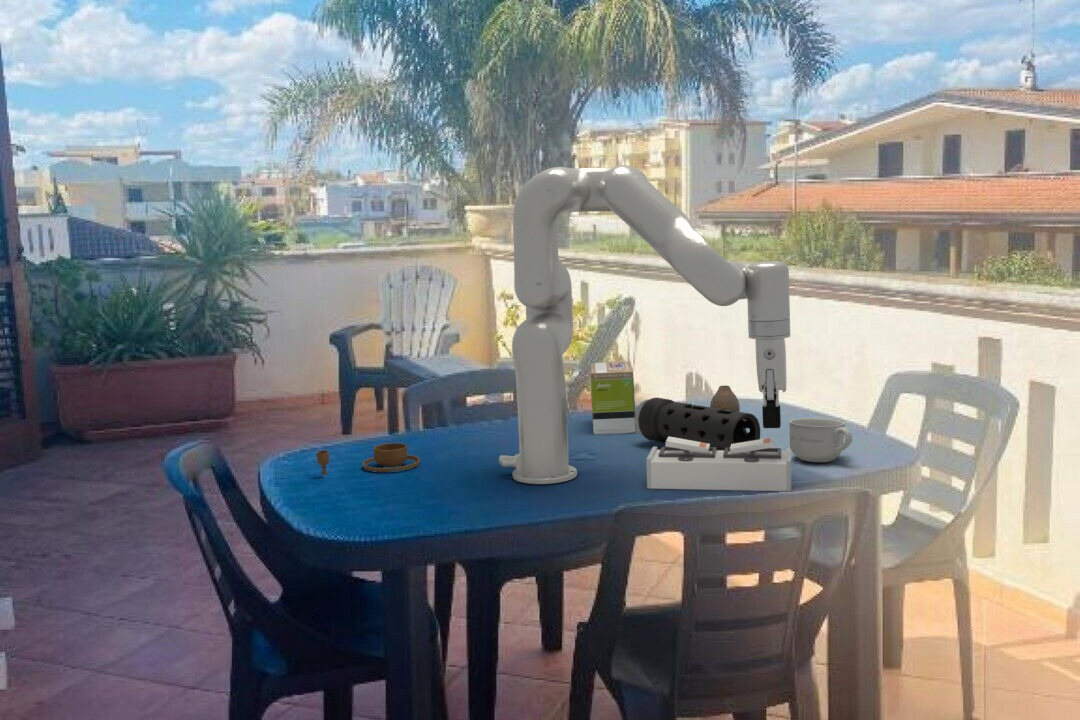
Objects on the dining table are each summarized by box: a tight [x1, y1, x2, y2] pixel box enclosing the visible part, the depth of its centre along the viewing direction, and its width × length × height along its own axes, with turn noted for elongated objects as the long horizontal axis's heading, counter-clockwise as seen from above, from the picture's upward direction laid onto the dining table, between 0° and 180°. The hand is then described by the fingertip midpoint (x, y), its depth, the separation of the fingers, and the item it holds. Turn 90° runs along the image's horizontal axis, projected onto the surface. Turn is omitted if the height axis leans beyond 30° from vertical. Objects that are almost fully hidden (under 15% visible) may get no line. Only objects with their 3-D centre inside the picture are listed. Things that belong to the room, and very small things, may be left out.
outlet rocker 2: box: [730, 437, 775, 454], centre depth 201 cm, size 8×4×2 cm, turn 77°
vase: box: [709, 385, 741, 412], centre depth 254 cm, size 7×7×9 cm
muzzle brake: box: [634, 397, 761, 451], centre depth 227 cm, size 10×28×10 cm, turn 39°
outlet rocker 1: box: [664, 436, 710, 454], centre depth 204 cm, size 8×4×2 cm, turn 77°
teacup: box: [788, 417, 853, 463], centre depth 214 cm, size 14×11×8 cm
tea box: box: [590, 360, 637, 435], centre depth 254 cm, size 15×10×15 cm
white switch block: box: [645, 446, 792, 492], centre depth 201 cm, size 26×10×6 cm, turn 77°
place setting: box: [316, 442, 421, 476], centre depth 225 cm, size 18×20×6 cm
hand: (771, 427), depth 200 cm, fingers closed
